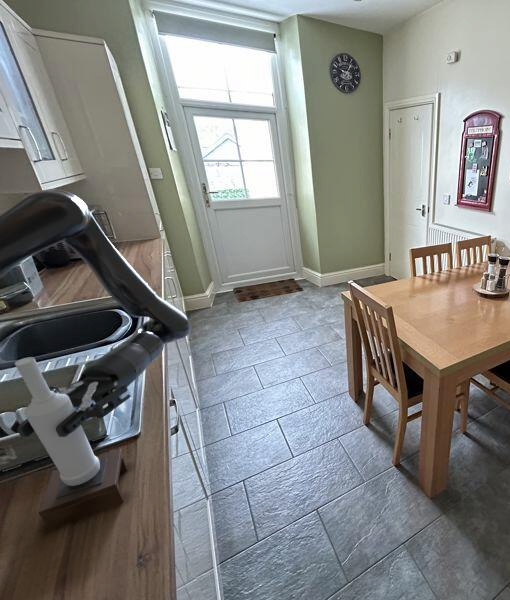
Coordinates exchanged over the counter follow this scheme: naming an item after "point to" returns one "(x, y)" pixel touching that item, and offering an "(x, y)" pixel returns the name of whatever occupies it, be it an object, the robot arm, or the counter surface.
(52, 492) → the dark wooden pedestal
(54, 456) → the bottle
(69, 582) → the counter surface
